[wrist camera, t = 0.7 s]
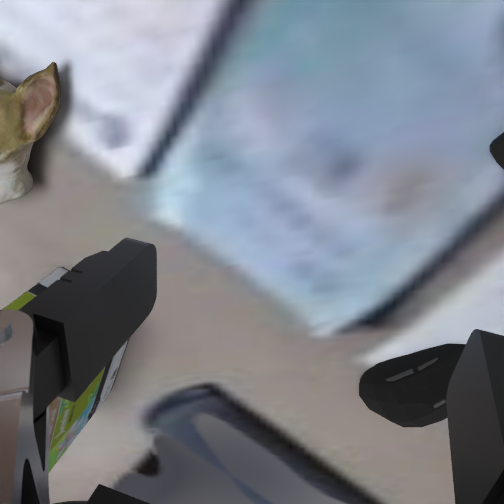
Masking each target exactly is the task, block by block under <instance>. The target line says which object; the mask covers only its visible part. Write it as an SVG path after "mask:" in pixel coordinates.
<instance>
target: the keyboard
mask: <svg viewBox="0 0 504 504" xmlns="http://www.w3.org/2000/svg"><path fill="white" fill-rule="evenodd" d="M490 152H491V153H492V155H493V157H494V158H495V160H496V161H497V163H498V164H499V165H500V166H501V167H502V168H503V169H504V133H502V134H501V135H500V136H499V137H497V138H496V139H495V140H493V142H492V143H491V145H490Z"/></svg>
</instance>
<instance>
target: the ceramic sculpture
mask: <svg viewBox="0 0 504 504" xmlns="http://www.w3.org/2000/svg"><path fill="white" fill-rule="evenodd" d="M60 95H61V88H60V81H59V75H58V69H57V64H56V63H55V62H52V63H51V64H50V65H49V66H48V67H47V68H46V69H44V70H42V71H39V72H37V73H35V74H33V75H31V76H29V77H28V78H26V79H25V80H24V81H23V82H22V83H21V84H20V85H19V86H18V87H17V88H16V87H15V86H13V85H12V84H10V83H9V82H7V81H5V80H2V79H0V204H2V203H5V202H8V201H11V200H14V199H18V198H21V197H22V196H23V195H26V194H27V193H28V192H30V190H31V189H32V186H33V178H32V175H31V173H30V172H29V171H28V169H27V164H28V161H29V157H30V153H31V149H32V146H33V143H34V142H35V141H37V140H39V139H40V138H41V137H42V136H43V135H44V134H45V133H46V132H47V129H48V128H49V127H50V126H51V123H52V122H53V121H54V118H55V115H56V113H57V111H58V109H59V105H60Z"/></svg>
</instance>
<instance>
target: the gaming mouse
mask: <svg viewBox="0 0 504 504" xmlns="http://www.w3.org/2000/svg"><path fill="white" fill-rule="evenodd" d="M465 346H466V345H460V344H445V345H441V346H437V347H433V348H429V349H426V350H422V351H419V352H416V353H412V354H409V355H405V356H402V357H398V358H394V359H391V360H388V361H385V362H382V363H379V364H377V365H375V366H374V367H372V368H371V369H369V370H368V371H366V372H365V373H364V375H363V376H362V378H361V380H360V383H359V396H360V397H361V399H362V400H363V401H364V403H365V404H366V406H367V407H368V408H369V409H370V410H372V411H374V412H375V413H377V414H379V415H381V416H382V417H384V418H386V419H388V420H389V421H391V422H393V423H396V424H398V425H400V426H402V427H424V426H427V425H430V424H433V423H436V422H439V421H442V420H444V419H446V418H447V417H448V416H447V404H446V398H447V390H448V385H449V381H450V378H451V376H452V374H453V371H454V369H455V367H456V365H457V363H458V361H459V359H460V356H461V354H462V352H463V350H464V348H465Z"/></svg>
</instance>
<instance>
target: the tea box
mask: <svg viewBox="0 0 504 504" xmlns="http://www.w3.org/2000/svg"><path fill="white" fill-rule="evenodd" d="M66 272H68V270H66V269H63V268H61V267H60V268H58V269H57V270H56V271H54V272H53V273H51V274H50V275H48V276H47V277H45V278H44V279H43V280H41V281H40V282H39V283H38V284H37V285H35V286H34V287H32V288H31V289H30V290H28V291H27V292H25V293H24V294H23V295H21V296H20V297H18V298H17V299H16V300H15V301H13V302H12V303H11V304H9V305H8V306H6V307H5V308H4V309H10V310H19V309H20V308H22V307H23V306H24V305H26V304H27V303H28V302H29V301H31V300H32V299H33V298H34V297H36V296H37V295H38V294H40V293H41V292H42V291H43V290H45V289H46V288H47V287H49V286H50V285H51V284H52V283H54V282H55V281H56V280H60V277H61V276H63V275H64V274H65V273H66ZM4 309H2V310H4ZM127 341H128V340H127ZM127 341H126V342H125V344H124V345H123V346H122V347H121V348H120V350H119V351H118V352H117V353H116V354H115V356H114V357H113V358H112V359H111V360H110V361H109V363H108V364H107V365H106V366H105V367H104V369H103V370H102V371H101V372H100V373H99V375H98V376H97V377H96V378H95V379H94V381H93V382H92V383H91V384H90V385H89V386H88V388H87V389H86V390H85V391H84V392H83V394H82V395H81V396H80V397H79V398H78V400H77V401H76V402H72V401H69V400H66V399H63V398H61V397H58V396H57V397H56V398H55V399H54V400H53V402H52V403H51V404H50V405H49V412H50V424H49V472H50V471H51V469H52V468H53V466H54V465H55V464H56V462H57V461H58V460H59V459H60V457H61V456H62V455H63V454H64V452H65V451H66V450H67V448H68V447H69V446H70V444H71V443H72V442H73V440H74V439H75V438H76V436H77V435H78V434H79V433H80V431H81V430H82V429H83V427H84V426H85V425H86V424H87V422H88V421H89V419H90V418H91V417H92V415H93V414H94V413H95V412H96V410H97V409H98V408H99V407H100V405H101V404H102V403H103V401H104V400H105V399H106V397H107V396H108V395H109V393H110V390H111V388H112V385H113V383H114V380H115V377H116V374H117V371H118V368H119V365H120V362H121V359H122V356H123V353H124V350H125V348H126V345H127Z"/></svg>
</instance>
